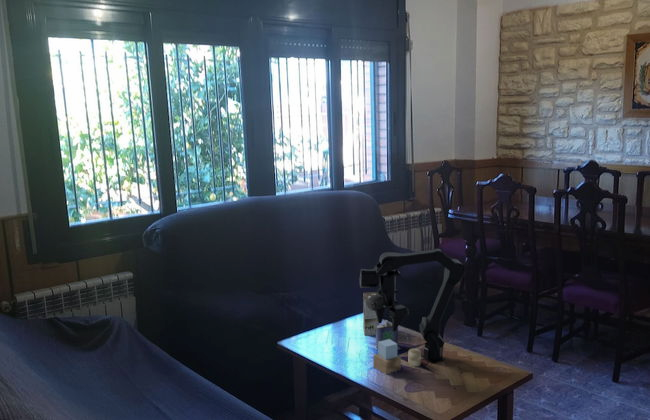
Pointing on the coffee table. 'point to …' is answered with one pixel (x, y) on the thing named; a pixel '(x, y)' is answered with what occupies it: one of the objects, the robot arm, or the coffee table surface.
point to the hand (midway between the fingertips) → (387, 327)
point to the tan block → (387, 364)
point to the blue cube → (387, 349)
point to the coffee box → (369, 317)
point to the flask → (386, 333)
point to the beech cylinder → (414, 357)
